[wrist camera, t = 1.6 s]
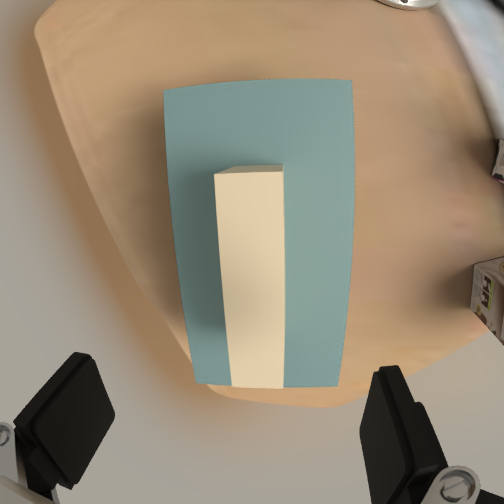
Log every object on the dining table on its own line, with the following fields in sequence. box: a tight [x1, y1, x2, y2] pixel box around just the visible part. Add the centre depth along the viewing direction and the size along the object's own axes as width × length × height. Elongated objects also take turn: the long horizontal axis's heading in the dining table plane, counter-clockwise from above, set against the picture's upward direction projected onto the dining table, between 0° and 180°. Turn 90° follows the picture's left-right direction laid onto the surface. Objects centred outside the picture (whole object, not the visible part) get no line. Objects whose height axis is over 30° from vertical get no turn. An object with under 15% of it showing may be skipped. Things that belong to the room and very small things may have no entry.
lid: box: [163, 79, 355, 388], centre depth 19 cm, size 23×12×8 cm, turn 2°
